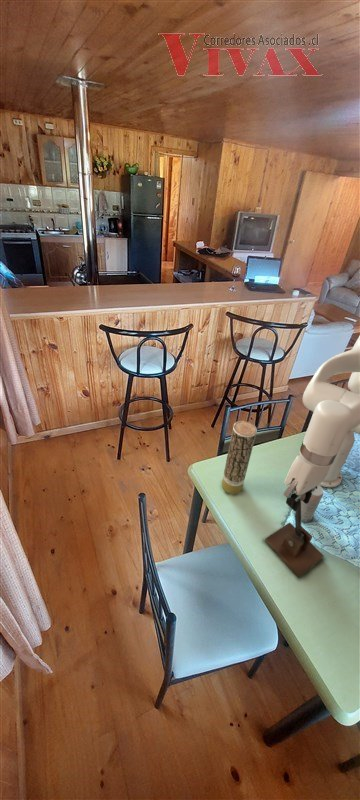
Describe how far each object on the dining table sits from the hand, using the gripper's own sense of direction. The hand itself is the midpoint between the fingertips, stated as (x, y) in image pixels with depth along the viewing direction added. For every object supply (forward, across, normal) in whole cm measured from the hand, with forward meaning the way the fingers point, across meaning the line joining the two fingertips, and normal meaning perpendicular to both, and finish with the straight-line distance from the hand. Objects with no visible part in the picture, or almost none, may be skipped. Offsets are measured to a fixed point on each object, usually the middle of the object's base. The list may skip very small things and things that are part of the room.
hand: (296, 502), depth 85 cm
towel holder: (+16, 0, +4) cm, 17 cm away
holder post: (+4, 0, 0) cm, 4 cm away
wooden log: (+16, 0, -22) cm, 27 cm away
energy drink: (+16, -12, -2) cm, 20 cm away
